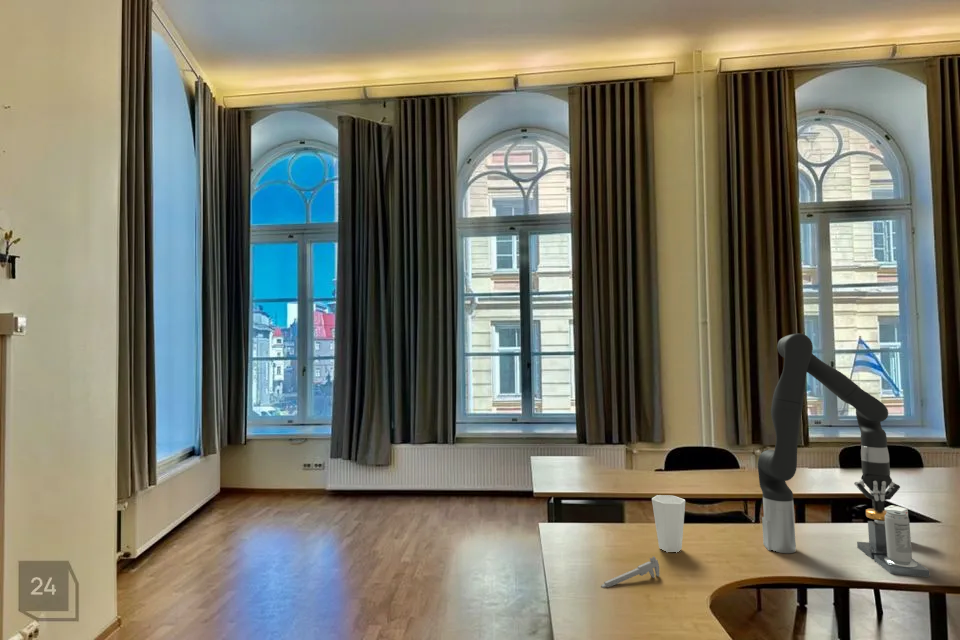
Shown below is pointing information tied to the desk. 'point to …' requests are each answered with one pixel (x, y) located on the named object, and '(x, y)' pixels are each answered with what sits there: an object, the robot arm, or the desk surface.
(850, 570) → the desk surface
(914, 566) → the plate
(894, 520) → the energy drink can
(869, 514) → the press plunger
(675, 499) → the cup
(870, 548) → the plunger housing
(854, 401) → the robot arm
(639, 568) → the caliper
